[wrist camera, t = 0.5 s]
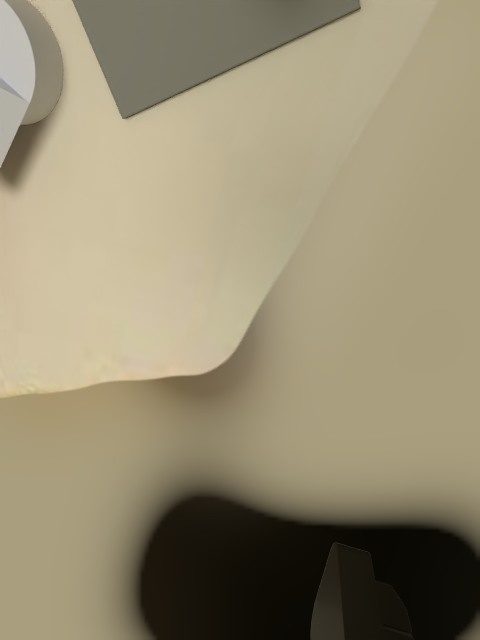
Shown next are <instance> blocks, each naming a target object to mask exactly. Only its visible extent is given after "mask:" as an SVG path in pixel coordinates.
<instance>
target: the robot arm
mask: <svg viewBox="0 0 480 640" xmlns="http://www.w3.org/2000/svg"><path fill="white" fill-rule="evenodd" d="M311 640H414V639H413V638H412V630H411V626H410V622H409V618H408V614H407V610H406V608H405V606H404V605H403V603H402V602H401V600H400V598H399V597H398V596H397V594H396V592H395V591H394V589H393V588H392V586H391V585H388V584H384V583H381V582H377V581H375V578H374V572H373V567H372V561H371V556H370V554H369V552H366V551H363V550H359V549H356V548H352V547H349V546H345V545H342V544H338V543H334V544H333V546H332V548H331V551H330V554H329V557H328V561H327V564H326V567H325V570H324V574H323V577H322V581H321V584H320V587H319V590H318V594H317V597H316V601H315V605H314V610H313V616H312V624H311Z"/></svg>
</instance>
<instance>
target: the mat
mask: <svg viewBox="0 0 480 640" xmlns="http://www.w3.org/2000/svg"><path fill="white" fill-rule="evenodd" d="M72 1H73V3H74V5H75V8H76V10H77V12H78V15H79V17H80V19H81V22H82V24H83V27H84V29H85V31H86V34H87V36H88V38H89V41H90V43H91V45H92V48H93V50H94V53H95V55H96V57H97V60H98V62H99V64H100V67H101V69H102V72H103V74H104V76H105V79H106V81H107V83H108V86H109V88H110V90H111V93H112V95H113V98H114V100H115V102H116V105H117V107H118V109H119V112H120V114H121V116H122V119H125V118H128V117H130V116H132V115H134V114H136V113H138V112H140V111H142V110H145V109H147V108H149V107H151V106H153V105H155V104H157V103H160V102H162V101H164V100H166V99H168V98H170V97H172V96H174V95H177V94H179V93H181V92H183V91H185V90H187V89H189V88H191V87H194V86H196V85H198V84H200V83H202V82H204V81H206V80H209V79H211V78H213V77H215V76H217V75H219V74H221V73H223V72H226V71H228V70H230V69H232V68H234V67H236V66H238V65H240V64H243V63H245V62H247V61H249V60H251V59H253V58H255V57H257V56H260V55H262V54H264V53H266V52H268V51H270V50H272V49H275V48H277V47H279V46H281V45H283V44H285V43H287V42H289V41H292V40H294V39H296V38H298V37H300V36H302V35H304V34H306V33H309V32H311V31H313V30H315V29H317V28H319V27H321V26H324V25H326V24H328V23H330V22H332V21H334V20H336V19H338V18H341V17H343V16H345V15H347V14H349V13H351V12H353V11H355V10H358V9H360V4H359V0H72Z"/></svg>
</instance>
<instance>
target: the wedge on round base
mask: <svg viewBox="0 0 480 640" xmlns="http://www.w3.org/2000/svg"><path fill="white" fill-rule="evenodd" d="M62 84H63V62H62V56H61V52H60V48H59V45H58V42H57V40H56V37H55V35H54V33H53V31H52V29H51V27H50V25H49V24H48V22H47V21H46V19H45V18H44V16H43V15H42V14H41V13H40V12H39V11H38V10H37V9H36V8H35V7H34V6H33V5H32V4H31V3H29V2H28V1H27V0H0V168H1V166H2V163H3V161H4V159H5V157H6V155H7V152H8V150H9V148H10V146H11V143H12V141H13V139H14V137H15V135H16V132H17V130H18V128H19V126H20V125H28V124H33V123H36V122H39V121H41V120H42V119H44V118H45V117H46V116H48V115H49V114H50V113H51V111H52V110H53V109H54V107H55V106H56V104H57V102H58V99H59V97H60V94H61V90H62Z"/></svg>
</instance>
